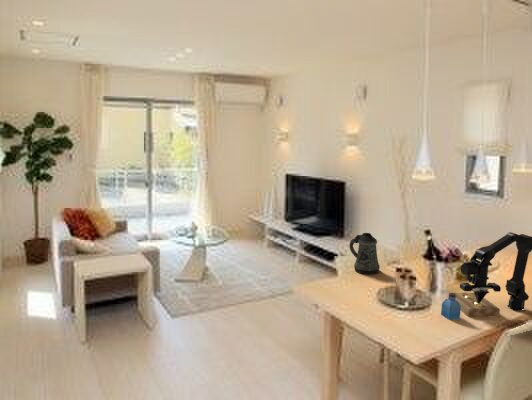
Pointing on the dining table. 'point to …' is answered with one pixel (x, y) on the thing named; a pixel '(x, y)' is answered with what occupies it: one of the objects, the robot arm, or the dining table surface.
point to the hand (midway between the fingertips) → (478, 302)
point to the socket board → (473, 310)
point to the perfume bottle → (451, 307)
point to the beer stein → (365, 254)
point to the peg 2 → (478, 303)
